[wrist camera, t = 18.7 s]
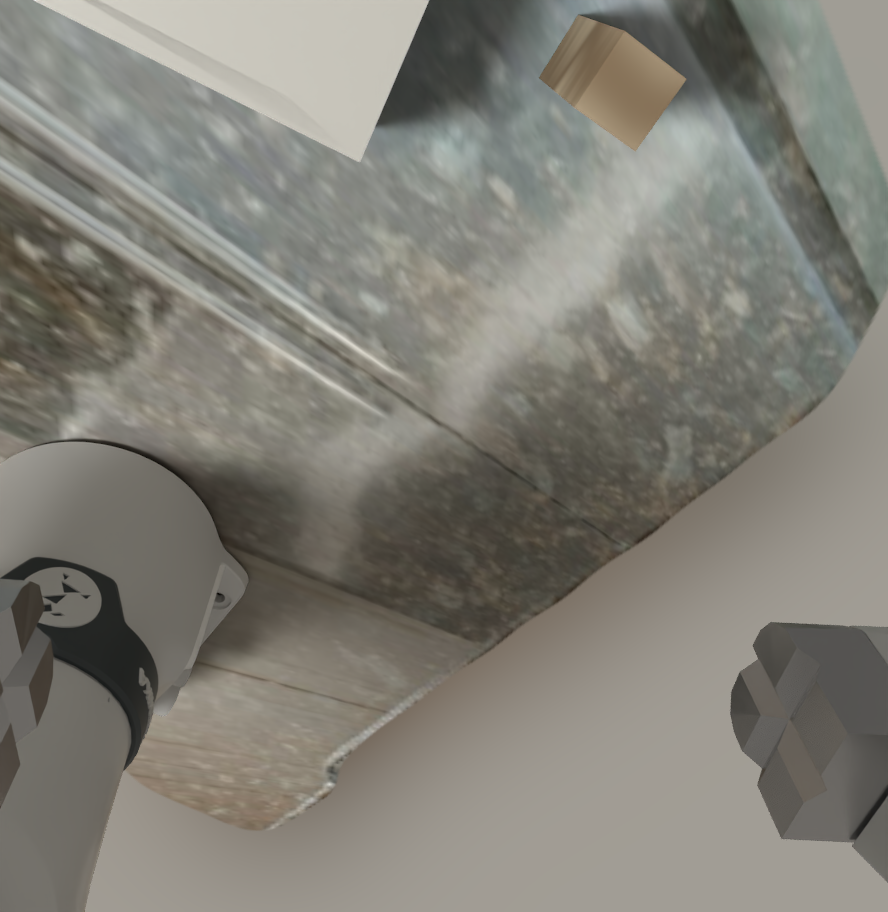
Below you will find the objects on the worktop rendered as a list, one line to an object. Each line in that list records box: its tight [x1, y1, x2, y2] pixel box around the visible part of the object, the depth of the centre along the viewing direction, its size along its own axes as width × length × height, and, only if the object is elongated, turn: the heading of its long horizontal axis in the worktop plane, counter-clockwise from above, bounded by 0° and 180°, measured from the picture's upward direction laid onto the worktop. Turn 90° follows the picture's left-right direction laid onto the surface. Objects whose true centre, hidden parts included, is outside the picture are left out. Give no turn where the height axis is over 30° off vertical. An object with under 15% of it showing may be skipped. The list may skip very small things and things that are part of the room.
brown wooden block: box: [539, 15, 686, 151], centre depth 33 cm, size 3×3×8 cm
